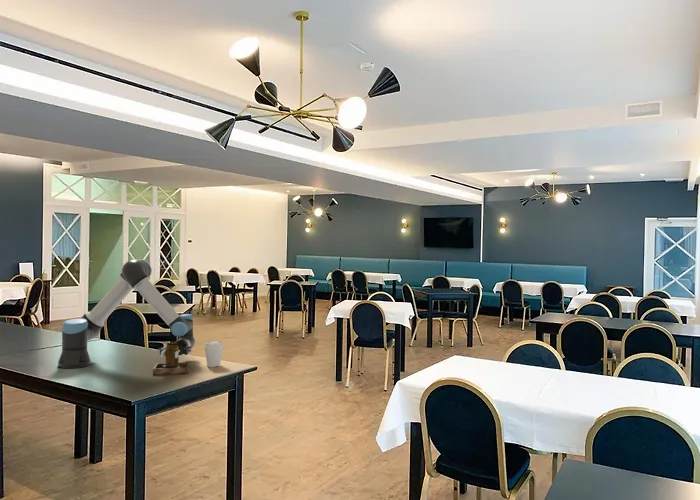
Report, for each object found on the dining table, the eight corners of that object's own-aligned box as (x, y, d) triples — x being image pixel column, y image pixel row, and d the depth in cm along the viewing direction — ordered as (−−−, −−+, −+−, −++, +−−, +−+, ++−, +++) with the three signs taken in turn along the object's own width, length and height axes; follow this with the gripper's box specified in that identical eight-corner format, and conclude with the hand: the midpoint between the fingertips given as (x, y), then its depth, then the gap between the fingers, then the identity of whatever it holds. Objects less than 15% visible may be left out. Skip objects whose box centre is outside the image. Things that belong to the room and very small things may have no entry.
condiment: (178, 364, 279) (178, 341, 279) (180, 368, 272) (181, 344, 271) (163, 365, 276) (163, 342, 276) (165, 369, 268) (165, 344, 268)
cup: (219, 367, 284) (220, 344, 284) (202, 367, 284) (202, 344, 284) (224, 364, 293) (224, 341, 293) (207, 363, 293) (207, 341, 293)
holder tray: (152, 375, 266) (152, 368, 266) (156, 369, 279) (156, 363, 278) (187, 374, 269) (187, 367, 269) (189, 368, 282) (189, 362, 282)
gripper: (199, 353, 292) (188, 362, 269) (163, 353, 291) (148, 362, 268) (199, 339, 292) (188, 347, 269) (163, 339, 291) (149, 347, 268)
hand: (168, 355), depth 269 cm, fingers closed on condiment, 6 cm apart
